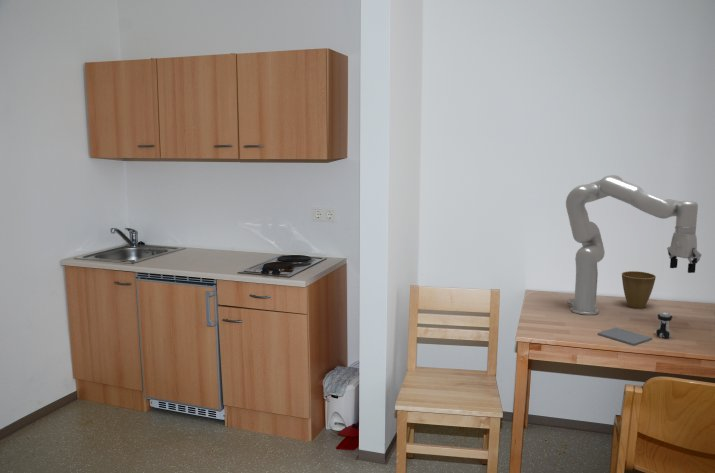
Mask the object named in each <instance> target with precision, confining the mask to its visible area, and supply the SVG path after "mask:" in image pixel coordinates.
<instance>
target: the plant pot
mask: <svg viewBox="0 0 715 473" xmlns="http://www.w3.org/2000/svg"><path fill="white" fill-rule="evenodd" d="M656 277H657V276H656V275H655V274H654V273H650V272H645V271H636V270H631V271H630V270H629V271H623V272H622V273H621V279H622V280H621V281H622V288H623V293H624V296H625V298H624V299H625V301H626V304H627V307H629V308H633V309H645V307H646V305H647V303H648V301H649V299H650V297H651V295H652V292H653V289H654V285H655V282H656Z"/></svg>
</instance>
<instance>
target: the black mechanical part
mask: <svg viewBox="0 0 715 473" xmlns="http://www.w3.org/2000/svg"><path fill="white" fill-rule="evenodd" d="M672 318H673V316H672V315H671V314H670V313H669V312H665V311H661V312H660V313H658V314H657V319H658V320H659V324H658V325H659V326H658V329H656V330H654V334H655V335H656V336H657V337H660V338H664V339H665V340H666V339H670V338H671V332H670V330H669V328H670V322H671V321H672Z"/></svg>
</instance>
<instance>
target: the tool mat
mask: <svg viewBox="0 0 715 473" xmlns="http://www.w3.org/2000/svg"><path fill="white" fill-rule="evenodd" d="M597 336H601V337H604V338H607V339H611V340H614V341H617V342H621V343H624V344H627V345H630V346H638V345H640V344H643V343H646V342H649V341H651V340H653V337H652V336H648V335H644V334H640V333H637V332H634V331H630V330H627V329H623V328H619V327H613V328H611V329H606V330H603V331H600V332H599V331H598V332H597Z"/></svg>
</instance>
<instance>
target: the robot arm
mask: <svg viewBox="0 0 715 473" xmlns="http://www.w3.org/2000/svg"><path fill="white" fill-rule="evenodd" d="M607 197H611V198H614V199H616V200H619V201H621V202H624V203H625V204H628V205H631V206H632V207H633V208H636V209H637V210H640V211H642V212H644V213H645V214H648V215H650V216H654V217H655V218H659V219H663V220H664V219H668V218H672V217H676V218H675V219H676V220H675V227H674V229H675V231H674V232H673V234H672V236H671V241H670V246H668V247H666V250H667V254H668V257H669V259H670V261H669V269H677V268H678V261H679V260H678V258H682V259H687V261H688V265H687V274H692V273H693V274H695V273H696V266H697V265H696V264H698V262H700V259H701V257H702V254H701V253H700V252H699V251H698V241H697V240H698V239H697V234H696V231H697V220H698V208H699V206H698V205H699V204H698V203H697V201H693V200H676V199H661V198H658V197H655V196H653V195H650V194H649V193H648V192H645V190H644V189H643V188H641V186H639V185H636V184H633V183H631V182H628V181H626V180H624V179H623V178H621V177H620V175H616V174H611V175H610V174H609V175H606V176H603V177H602V178H601V179H599V180H597V181H594V182H590V183H586V184H581V185H577V186H576V187H574V188H573V189H571V191H570V192H569V193H568V194H567V196H566V200H565V207H566V213H567V216H568V221H569V225H570V228H571V233H572V236H573V239H574V241H575V242H576V243H579V244H581V245H582V246H581V247H580V248H579V249H578V250H577V252H576V253H575V258H574V259H575V260H574V261H575V284H574V285H575V286H574V299H573V298H569V299H568V301H567V303H568V304H569V305H571V307H570V309H569V310H570V311H571V312H573V313H574V314H579V315H587V316H588V315H589V316H591V315H592V316H593V315H598V314H599V313H600V309H599V308H597V306H596V305H597V290H598V263H600V262H601V261H602V260H603V259H604V257H605V247H604V242H603V239H602V235H601V231H600V228H599V227H598V225H597V224H596V223H595V222H593V221H590V218H589V213H588V211H587V209H586V206H585V205H586V204H587V203H591V202H595V201H597V200H600V199H603V198H607Z"/></svg>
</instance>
